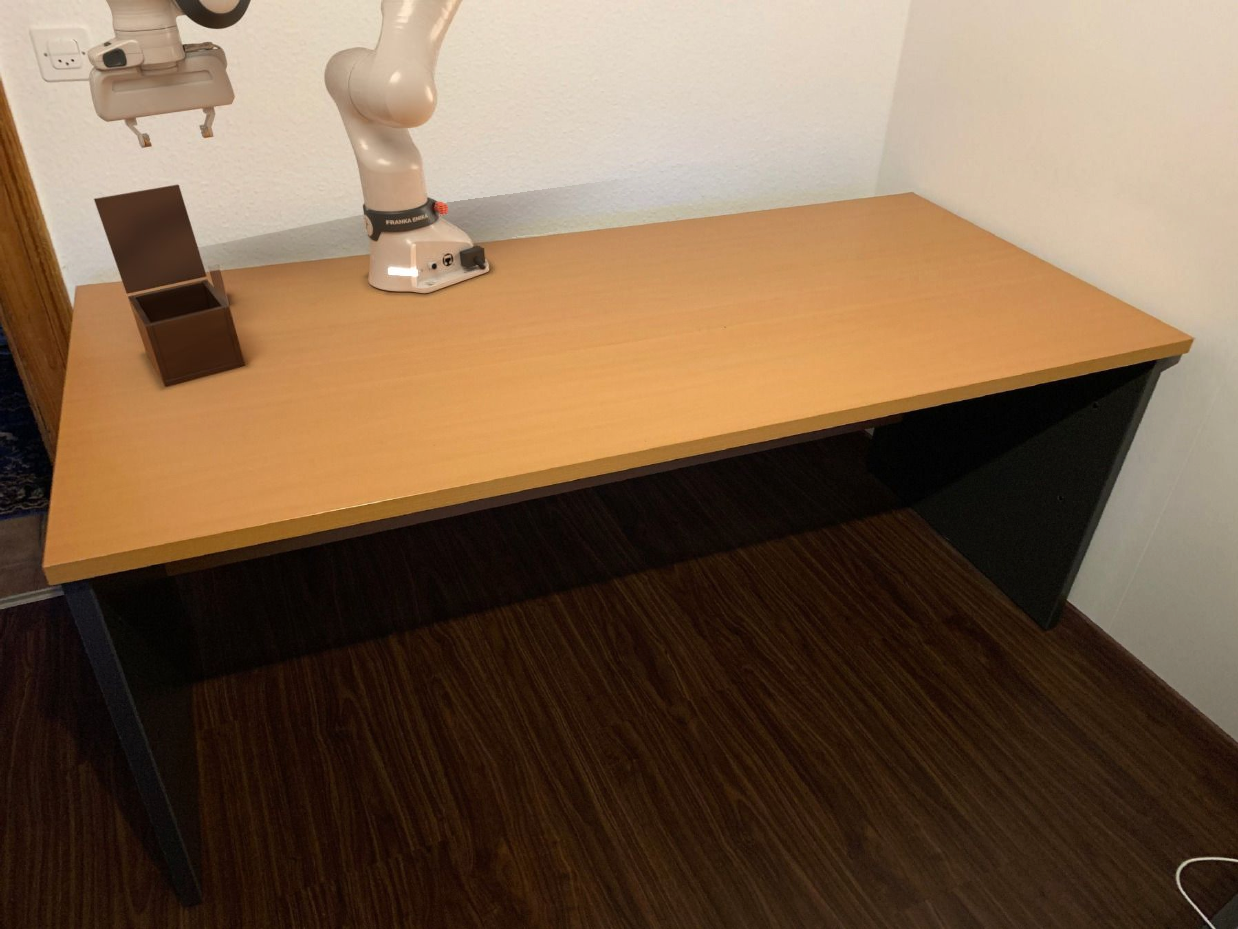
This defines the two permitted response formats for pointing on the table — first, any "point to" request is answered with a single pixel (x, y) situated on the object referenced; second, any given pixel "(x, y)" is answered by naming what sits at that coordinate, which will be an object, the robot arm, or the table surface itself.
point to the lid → (151, 238)
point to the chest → (187, 331)
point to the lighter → (218, 281)
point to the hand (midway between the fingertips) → (177, 141)
